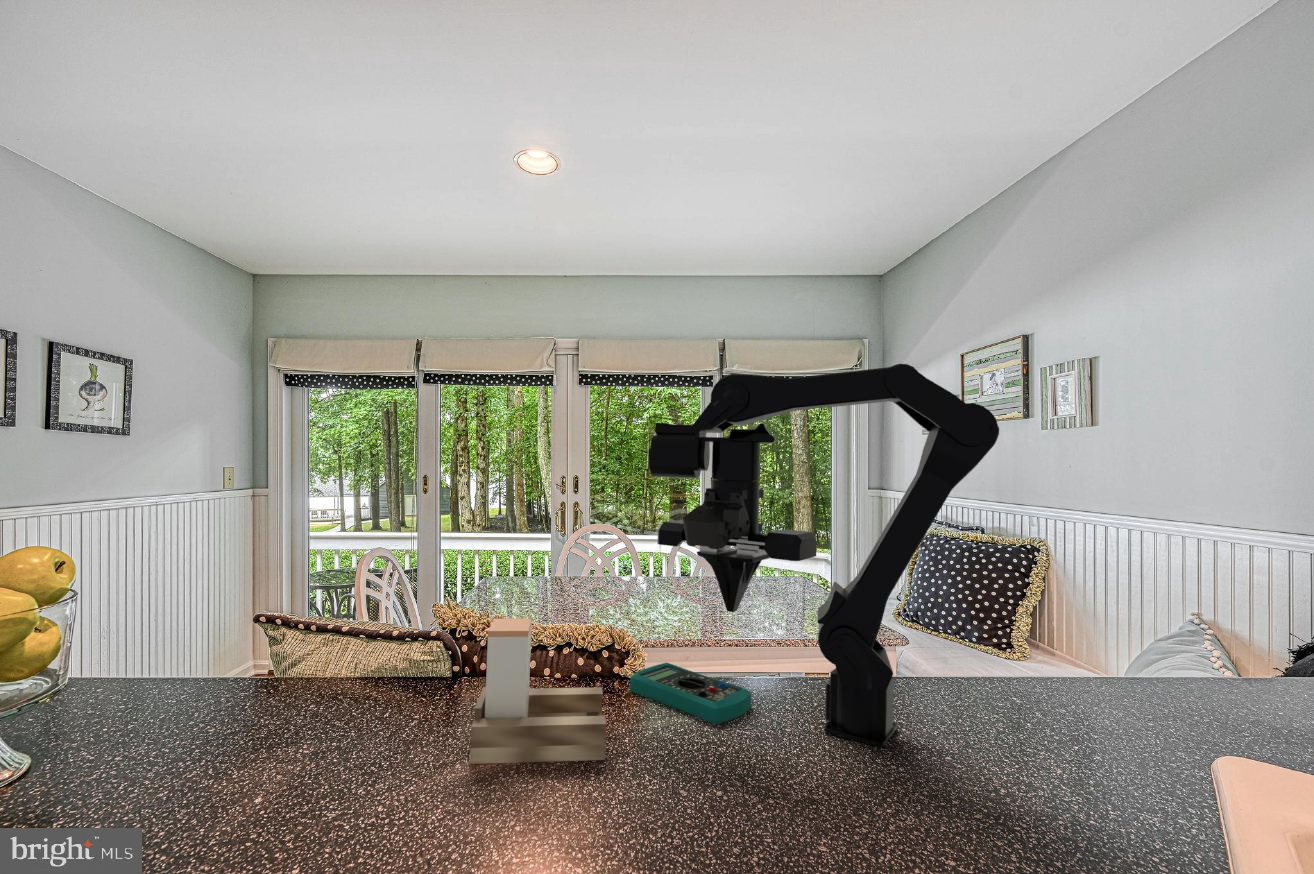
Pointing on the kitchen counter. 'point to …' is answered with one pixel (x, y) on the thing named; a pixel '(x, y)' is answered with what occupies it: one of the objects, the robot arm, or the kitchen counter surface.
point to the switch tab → (508, 668)
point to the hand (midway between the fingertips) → (731, 611)
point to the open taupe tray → (543, 729)
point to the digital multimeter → (691, 692)
